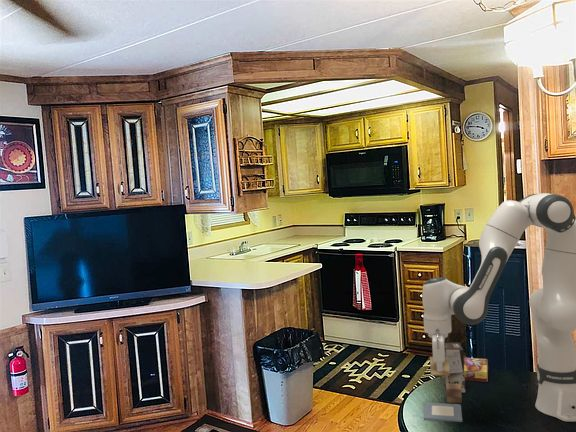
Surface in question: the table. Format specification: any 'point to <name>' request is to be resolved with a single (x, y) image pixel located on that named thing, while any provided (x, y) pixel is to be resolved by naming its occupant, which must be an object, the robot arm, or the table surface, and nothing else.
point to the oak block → (445, 366)
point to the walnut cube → (453, 393)
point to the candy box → (476, 369)
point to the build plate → (443, 412)
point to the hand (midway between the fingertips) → (439, 366)
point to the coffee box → (455, 364)
